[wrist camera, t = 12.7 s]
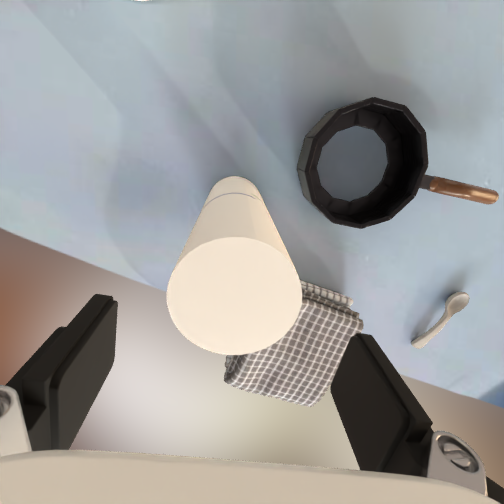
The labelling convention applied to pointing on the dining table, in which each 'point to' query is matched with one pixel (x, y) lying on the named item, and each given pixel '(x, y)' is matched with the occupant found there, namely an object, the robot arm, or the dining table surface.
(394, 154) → the pan
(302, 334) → the towel
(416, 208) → the dining table surface
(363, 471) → the robot arm
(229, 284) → the cylindrical container
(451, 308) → the spoon
